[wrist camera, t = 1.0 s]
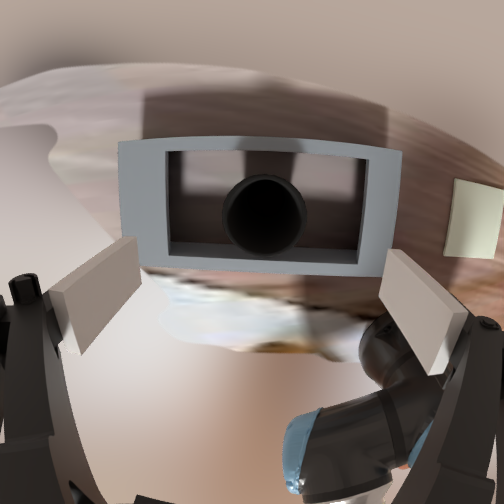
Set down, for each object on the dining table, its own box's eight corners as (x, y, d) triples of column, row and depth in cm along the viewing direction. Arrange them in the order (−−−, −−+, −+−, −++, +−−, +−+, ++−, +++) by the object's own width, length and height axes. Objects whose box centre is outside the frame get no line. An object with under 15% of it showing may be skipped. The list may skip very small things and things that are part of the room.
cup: (268, 237, 39) (267, 273, 28) (224, 200, 38) (205, 221, 27) (307, 195, 37) (324, 213, 26) (263, 156, 36) (260, 156, 25)
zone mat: (491, 257, 38) (493, 258, 37) (442, 254, 38) (444, 256, 38) (503, 190, 34) (505, 190, 33) (454, 178, 35) (456, 178, 34)
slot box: (369, 257, 39) (386, 277, 33) (146, 247, 41) (125, 264, 34) (380, 150, 34) (402, 151, 28) (142, 142, 36) (117, 141, 29)
